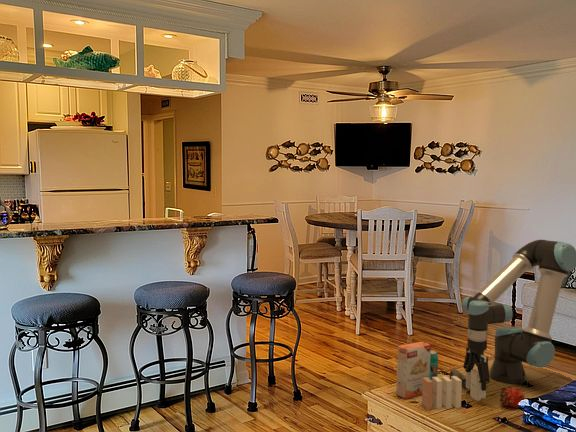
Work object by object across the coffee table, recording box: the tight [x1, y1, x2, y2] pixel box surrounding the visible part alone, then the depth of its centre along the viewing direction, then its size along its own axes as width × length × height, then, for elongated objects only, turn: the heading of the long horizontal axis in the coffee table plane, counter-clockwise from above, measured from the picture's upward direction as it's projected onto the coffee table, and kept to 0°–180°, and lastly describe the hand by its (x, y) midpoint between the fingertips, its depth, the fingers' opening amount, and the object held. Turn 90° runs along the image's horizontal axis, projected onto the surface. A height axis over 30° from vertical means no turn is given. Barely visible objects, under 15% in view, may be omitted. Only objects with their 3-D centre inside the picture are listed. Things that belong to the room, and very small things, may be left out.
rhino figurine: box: [449, 368, 467, 389], centre depth 238 cm, size 4×14×6 cm, turn 12°
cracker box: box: [395, 341, 432, 400], centre depth 227 cm, size 14×6×21 cm, turn 123°
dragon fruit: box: [499, 386, 525, 409], centre depth 216 cm, size 8×8×12 cm
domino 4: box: [451, 376, 463, 409], centre depth 216 cm, size 2×5×11 cm, turn 8°
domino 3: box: [441, 375, 452, 409], centre depth 216 cm, size 2×5×11 cm, turn 9°
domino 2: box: [432, 376, 443, 410], centre depth 215 cm, size 2×5×11 cm, turn 9°
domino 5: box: [469, 369, 482, 401], centre depth 224 cm, size 2×5×11 cm, turn 8°
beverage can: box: [430, 349, 439, 381], centre depth 237 cm, size 6×6×15 cm
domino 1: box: [421, 377, 433, 411], centre depth 214 cm, size 2×5×11 cm, turn 8°
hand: (475, 392), depth 224 cm, fingers open, 10 cm apart
